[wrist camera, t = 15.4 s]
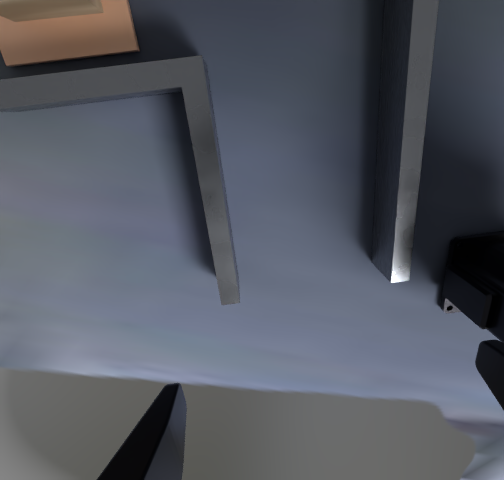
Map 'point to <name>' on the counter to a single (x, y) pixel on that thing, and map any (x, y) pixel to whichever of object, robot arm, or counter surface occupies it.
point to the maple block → (47, 9)
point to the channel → (206, 141)
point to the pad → (69, 36)
